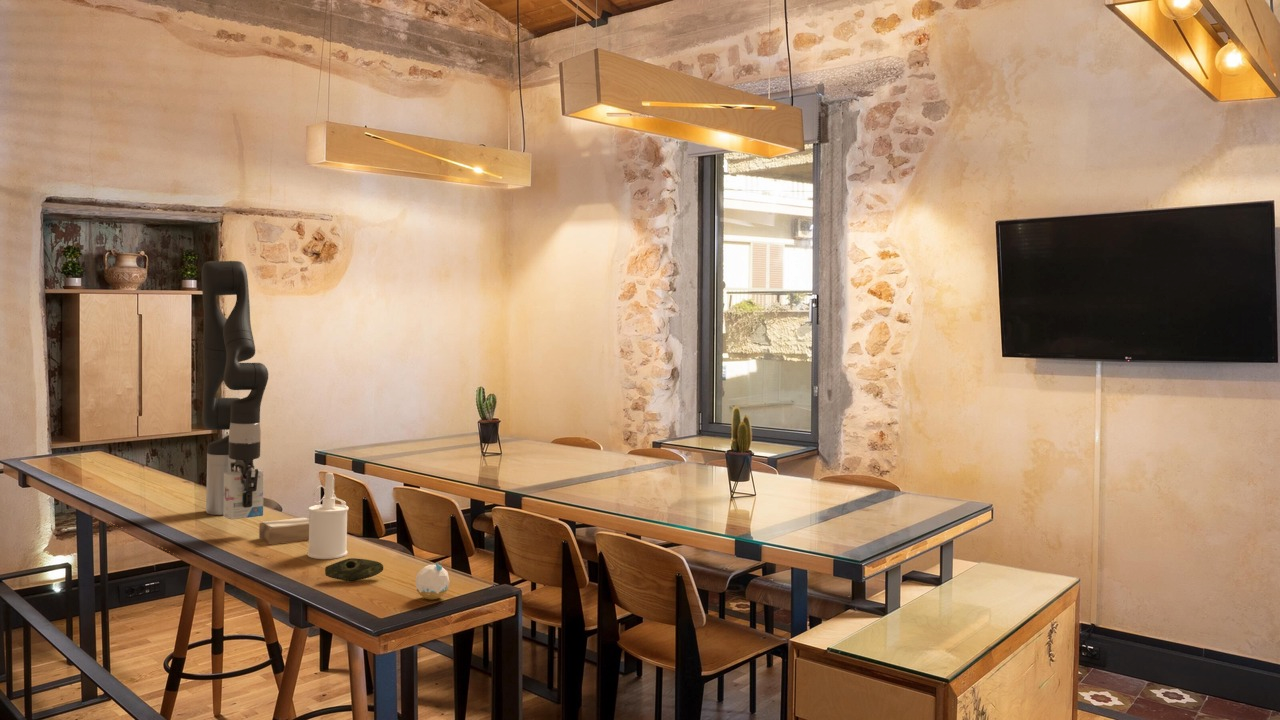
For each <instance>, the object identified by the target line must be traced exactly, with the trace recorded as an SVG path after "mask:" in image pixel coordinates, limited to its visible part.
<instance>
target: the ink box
mask: <svg viewBox="0 0 1280 720" xmlns="http://www.w3.org/2000/svg"><path fill="white" fill-rule="evenodd" d="M242 474H243V473H242ZM264 476H265V475H264V471H263V470H260V469H258V480H257V489H256V491H254V492H252V506H251V507H247V508H244V507H243V506H242V502H243V490H242V484H241V483H240V473H238V472H235V471H233V472H224V515H223V517H224V518H226V519H228V520H239V519H248V518H255V517H262V516H264ZM243 480H246V479H244V478H243ZM245 485H246V484H245ZM249 487H250V484H249Z"/></svg>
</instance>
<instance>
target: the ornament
mask: <svg viewBox="0 0 1280 720" xmlns="http://www.w3.org/2000/svg"><path fill="white" fill-rule="evenodd" d="M439 563H440V564H442V563H443V562H442V561H440V562H439ZM439 563H434V564H429V565H426V566H423V567H422V568H421V570H419V572H417V573H416V577H415V587H416V592H417V593H418V594H419V595H420V596H421V597H422V598H424V599H426V600H433V601H434V600H437V599H440V598H441V597H443V596H444V595H445V594H446V593H447V591H448V590H449V586H450V583H451V582H450V578H449V572H448V570H447V569H445V568H444V567H443V566H442V565H440V564H439Z"/></svg>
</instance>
